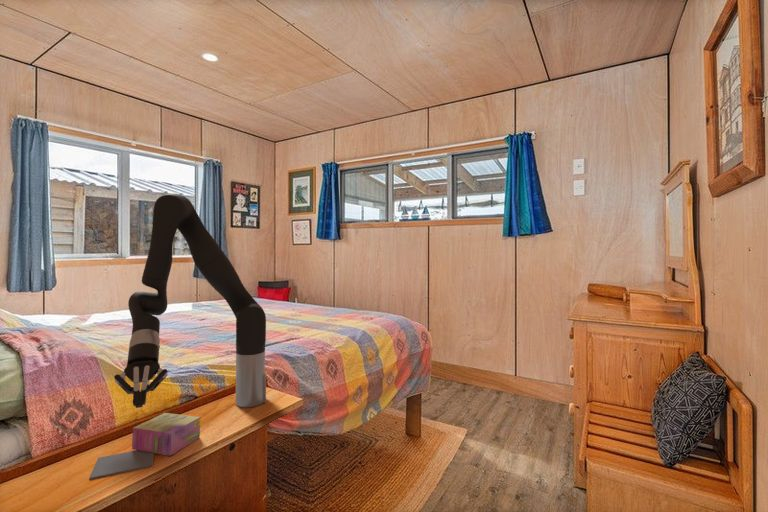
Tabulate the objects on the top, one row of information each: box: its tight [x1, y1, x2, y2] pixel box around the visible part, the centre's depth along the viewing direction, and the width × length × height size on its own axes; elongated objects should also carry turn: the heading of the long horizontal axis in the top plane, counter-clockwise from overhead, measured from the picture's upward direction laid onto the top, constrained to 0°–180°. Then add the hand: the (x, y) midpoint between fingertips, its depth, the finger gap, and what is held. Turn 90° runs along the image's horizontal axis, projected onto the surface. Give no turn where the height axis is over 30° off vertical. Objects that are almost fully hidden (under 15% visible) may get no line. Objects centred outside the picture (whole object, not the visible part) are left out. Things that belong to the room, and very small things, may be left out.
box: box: [131, 412, 201, 457], centre depth 99 cm, size 10×6×12 cm
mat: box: [88, 450, 155, 481], centre depth 90 cm, size 12×9×1 cm
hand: (139, 406), depth 98 cm, fingers closed
